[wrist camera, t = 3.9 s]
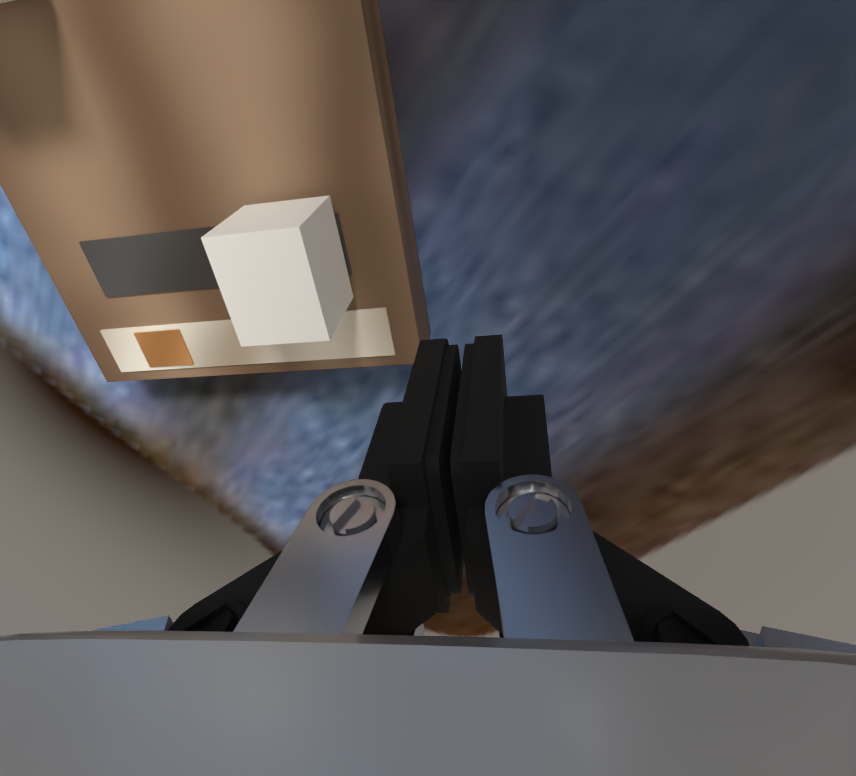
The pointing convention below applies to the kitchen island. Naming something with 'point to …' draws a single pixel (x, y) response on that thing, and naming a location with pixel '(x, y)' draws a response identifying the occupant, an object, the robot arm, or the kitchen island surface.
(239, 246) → the tab
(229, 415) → the kitchen island surface
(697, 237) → the kitchen island surface
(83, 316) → the switch board
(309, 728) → the robot arm
